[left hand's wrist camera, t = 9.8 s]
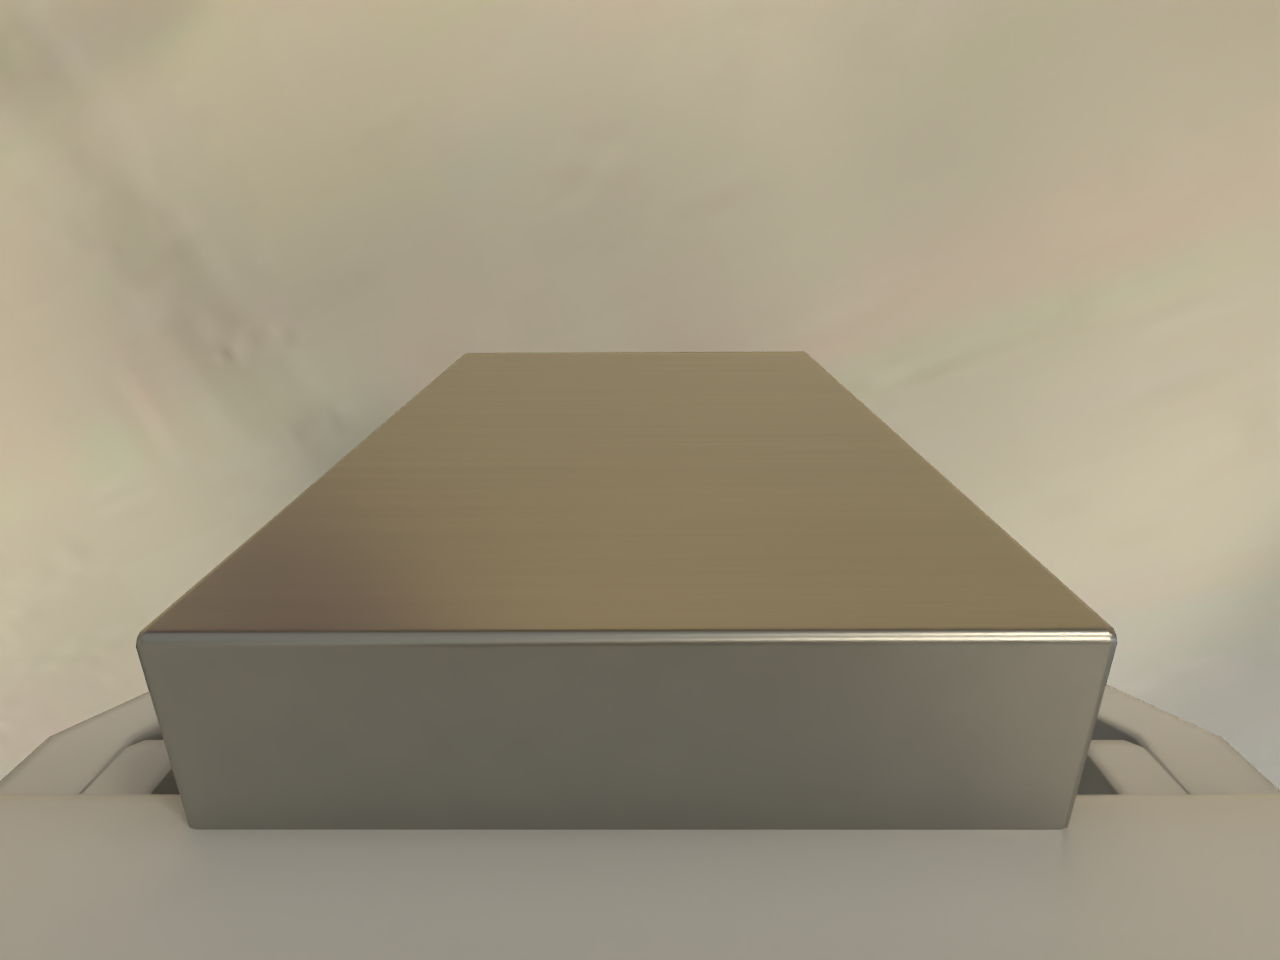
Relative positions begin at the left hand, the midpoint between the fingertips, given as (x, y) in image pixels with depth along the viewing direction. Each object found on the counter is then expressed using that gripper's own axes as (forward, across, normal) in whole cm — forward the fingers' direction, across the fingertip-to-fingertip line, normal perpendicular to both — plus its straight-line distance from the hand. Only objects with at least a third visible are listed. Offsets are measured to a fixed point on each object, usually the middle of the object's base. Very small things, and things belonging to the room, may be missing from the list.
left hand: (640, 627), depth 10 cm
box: (+4, 0, -9) cm, 10 cm away
